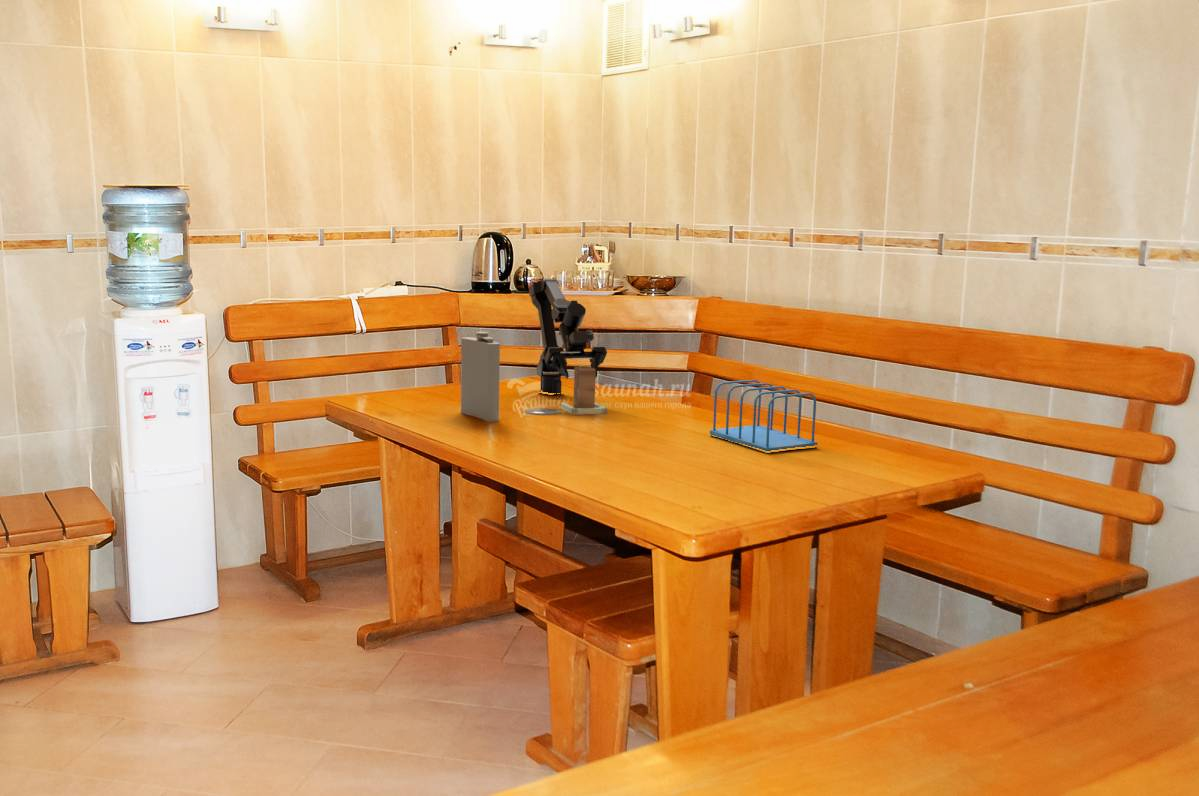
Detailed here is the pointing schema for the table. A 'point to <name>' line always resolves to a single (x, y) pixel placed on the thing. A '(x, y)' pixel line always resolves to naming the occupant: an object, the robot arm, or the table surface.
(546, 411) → the slate coaster
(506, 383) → the table surface
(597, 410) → the pocket
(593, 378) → the oak block
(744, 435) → the file sorter
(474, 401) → the flask
